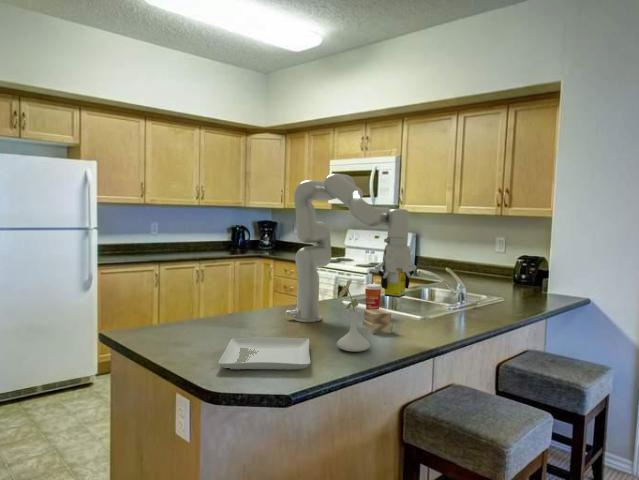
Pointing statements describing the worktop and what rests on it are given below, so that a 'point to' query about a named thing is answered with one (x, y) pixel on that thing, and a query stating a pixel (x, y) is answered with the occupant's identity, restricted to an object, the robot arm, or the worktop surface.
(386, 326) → the birch base block
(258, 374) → the worktop surface
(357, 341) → the flower in vase
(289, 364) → the square plate
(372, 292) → the paper cup
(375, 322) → the maple top block
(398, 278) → the supplement box
